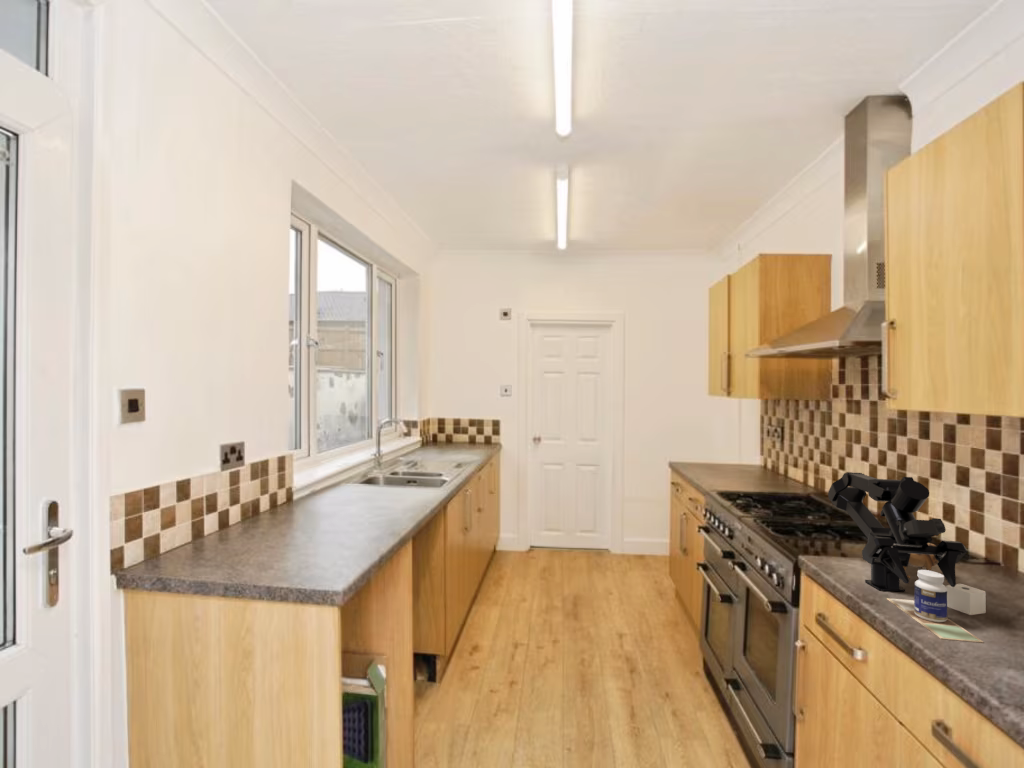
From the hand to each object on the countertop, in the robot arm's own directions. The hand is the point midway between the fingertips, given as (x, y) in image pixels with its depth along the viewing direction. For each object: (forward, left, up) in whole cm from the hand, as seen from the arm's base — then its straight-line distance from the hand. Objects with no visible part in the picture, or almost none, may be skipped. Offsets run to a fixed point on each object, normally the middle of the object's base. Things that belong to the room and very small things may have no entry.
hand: (930, 584), depth 115 cm
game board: (0, 0, -8) cm, 8 cm away
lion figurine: (-29, +16, -8) cm, 35 cm away
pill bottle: (0, 0, -8) cm, 8 cm away
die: (-6, +12, -8) cm, 16 cm away
